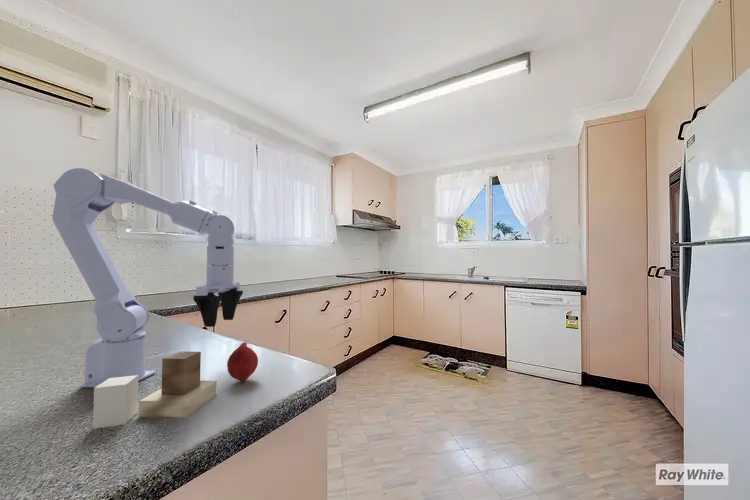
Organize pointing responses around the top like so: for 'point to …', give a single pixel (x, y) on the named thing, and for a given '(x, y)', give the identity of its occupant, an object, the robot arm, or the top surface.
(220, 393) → the top surface
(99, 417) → the offwhite block
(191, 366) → the walnut block
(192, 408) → the beech slab
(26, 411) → the top surface
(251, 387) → the top surface
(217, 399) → the top surface
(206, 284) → the robot arm
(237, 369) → the onion
